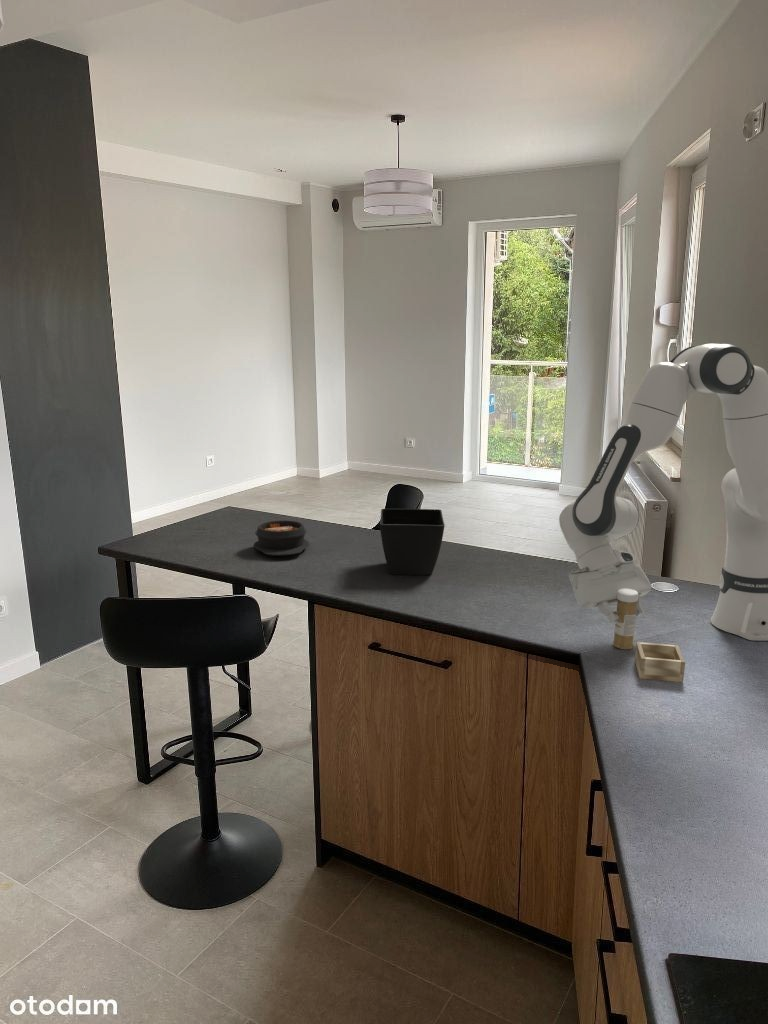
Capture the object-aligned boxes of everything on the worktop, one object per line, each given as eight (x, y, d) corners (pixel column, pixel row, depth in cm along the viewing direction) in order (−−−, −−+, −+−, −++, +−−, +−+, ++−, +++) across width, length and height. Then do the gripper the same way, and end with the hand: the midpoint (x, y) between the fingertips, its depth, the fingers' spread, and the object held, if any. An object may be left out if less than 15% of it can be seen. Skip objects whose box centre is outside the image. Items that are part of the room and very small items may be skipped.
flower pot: (443, 579, 214) (445, 524, 210) (379, 578, 215) (379, 523, 211) (440, 560, 233) (441, 508, 229) (381, 559, 233) (381, 508, 229)
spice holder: (676, 664, 159) (678, 645, 158) (683, 682, 151) (685, 662, 150) (634, 660, 161) (636, 641, 159) (639, 678, 152) (641, 658, 151)
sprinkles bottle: (609, 642, 170) (614, 588, 167) (628, 641, 171) (633, 587, 168) (617, 650, 166) (622, 594, 163) (636, 649, 166) (642, 594, 163)
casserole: (252, 541, 254) (251, 518, 252) (305, 538, 257) (305, 515, 255) (254, 562, 230) (253, 537, 228) (313, 559, 234) (312, 534, 232)
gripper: (573, 564, 165) (601, 619, 159) (638, 552, 174) (667, 604, 168) (558, 578, 170) (585, 631, 164) (623, 565, 179) (650, 616, 173)
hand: (627, 617), depth 166 cm, fingers open, 6 cm apart
